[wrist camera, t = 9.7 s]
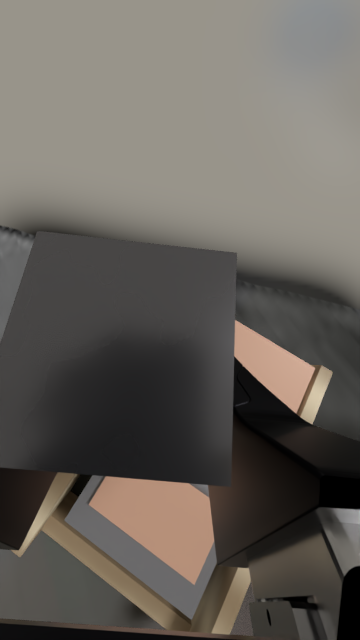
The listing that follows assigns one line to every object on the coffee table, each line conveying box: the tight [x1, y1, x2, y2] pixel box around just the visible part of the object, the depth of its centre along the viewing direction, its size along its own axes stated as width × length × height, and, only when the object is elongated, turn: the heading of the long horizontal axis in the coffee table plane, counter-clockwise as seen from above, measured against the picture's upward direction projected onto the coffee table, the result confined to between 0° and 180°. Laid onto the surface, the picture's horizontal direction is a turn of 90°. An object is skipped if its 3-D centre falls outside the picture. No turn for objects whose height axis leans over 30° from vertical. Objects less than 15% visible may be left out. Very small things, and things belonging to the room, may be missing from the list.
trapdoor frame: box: [11, 365, 333, 635], centre depth 18 cm, size 26×17×5 cm, turn 148°
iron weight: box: [0, 231, 237, 487], centre depth 9 cm, size 7×7×13 cm
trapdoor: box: [64, 320, 315, 620], centre depth 17 cm, size 22×14×4 cm, turn 148°
